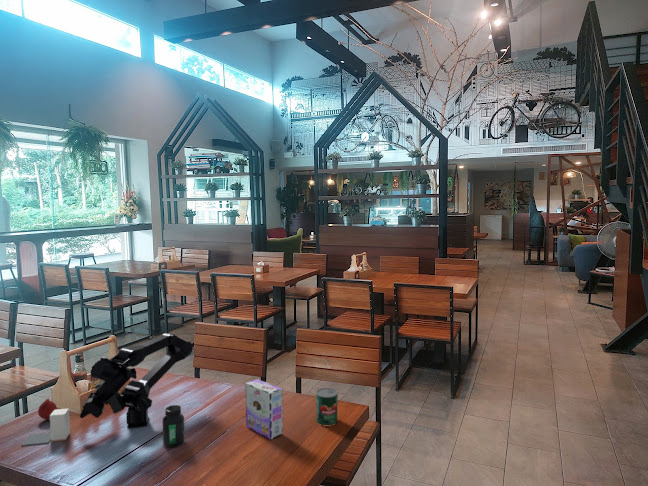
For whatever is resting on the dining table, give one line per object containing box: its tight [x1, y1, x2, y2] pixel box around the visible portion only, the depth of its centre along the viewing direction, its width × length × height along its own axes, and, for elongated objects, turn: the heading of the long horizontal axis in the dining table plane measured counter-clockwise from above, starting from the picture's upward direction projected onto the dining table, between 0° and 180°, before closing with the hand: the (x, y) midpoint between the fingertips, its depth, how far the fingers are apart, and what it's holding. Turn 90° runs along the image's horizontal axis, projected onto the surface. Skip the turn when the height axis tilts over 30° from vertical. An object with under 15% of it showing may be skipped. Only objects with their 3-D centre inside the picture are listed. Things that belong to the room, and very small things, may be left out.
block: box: [49, 407, 71, 442], centre depth 154 cm, size 4×4×9 cm
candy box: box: [244, 378, 284, 440], centre depth 159 cm, size 14×6×16 cm, turn 47°
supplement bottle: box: [162, 404, 186, 449], centre depth 151 cm, size 7×7×12 cm
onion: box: [37, 397, 58, 421], centre depth 167 cm, size 6×6×8 cm
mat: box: [21, 432, 52, 447], centre depth 153 cm, size 8×7×1 cm
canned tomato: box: [315, 387, 339, 426], centre depth 166 cm, size 8×8×11 cm
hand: (81, 417), depth 155 cm, fingers closed
